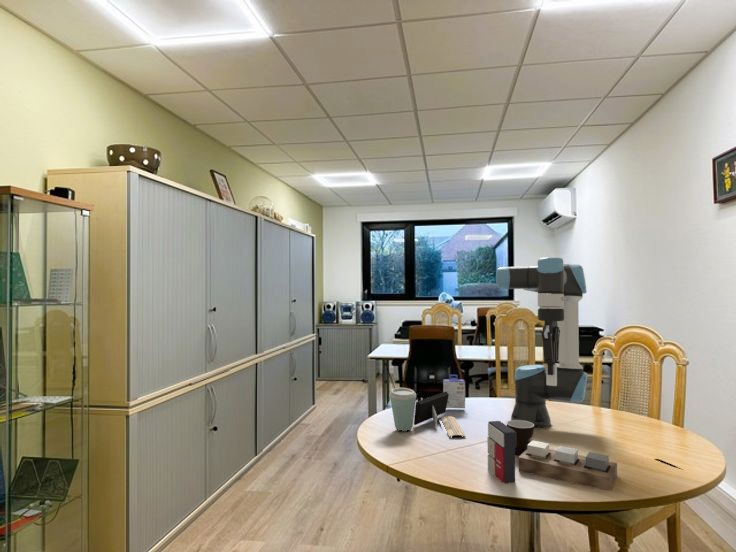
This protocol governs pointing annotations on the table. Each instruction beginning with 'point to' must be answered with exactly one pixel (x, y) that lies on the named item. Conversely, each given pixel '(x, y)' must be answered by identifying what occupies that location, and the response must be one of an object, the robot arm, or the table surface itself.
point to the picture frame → (430, 408)
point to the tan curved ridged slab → (452, 426)
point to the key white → (538, 449)
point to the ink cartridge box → (454, 392)
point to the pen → (667, 463)
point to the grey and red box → (501, 451)
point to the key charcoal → (597, 461)
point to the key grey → (566, 455)
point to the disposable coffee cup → (403, 407)
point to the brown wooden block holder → (568, 470)
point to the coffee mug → (522, 434)
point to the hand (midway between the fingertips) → (551, 385)
